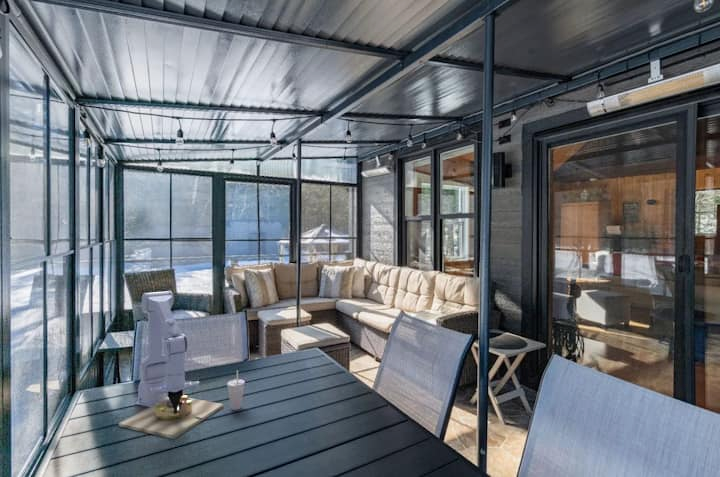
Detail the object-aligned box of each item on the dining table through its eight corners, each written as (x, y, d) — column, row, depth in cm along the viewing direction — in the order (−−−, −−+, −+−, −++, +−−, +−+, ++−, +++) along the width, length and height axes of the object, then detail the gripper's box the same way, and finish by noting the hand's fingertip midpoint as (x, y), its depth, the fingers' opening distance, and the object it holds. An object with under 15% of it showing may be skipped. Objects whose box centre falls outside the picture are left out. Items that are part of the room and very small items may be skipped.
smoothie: (239, 412, 142) (239, 374, 142) (223, 410, 144) (223, 373, 143) (248, 404, 149) (247, 368, 148) (232, 403, 150) (232, 367, 150)
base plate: (118, 426, 132) (118, 408, 132) (173, 397, 155) (173, 382, 155) (175, 439, 124) (174, 420, 124) (224, 406, 147) (224, 391, 147)
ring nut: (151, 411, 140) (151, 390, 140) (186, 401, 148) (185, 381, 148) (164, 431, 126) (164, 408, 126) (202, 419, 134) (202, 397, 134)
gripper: (150, 380, 123) (150, 422, 123) (199, 373, 129) (199, 413, 129) (151, 372, 129) (151, 412, 129) (198, 366, 135) (198, 404, 136)
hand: (175, 412), depth 130 cm, fingers closed
